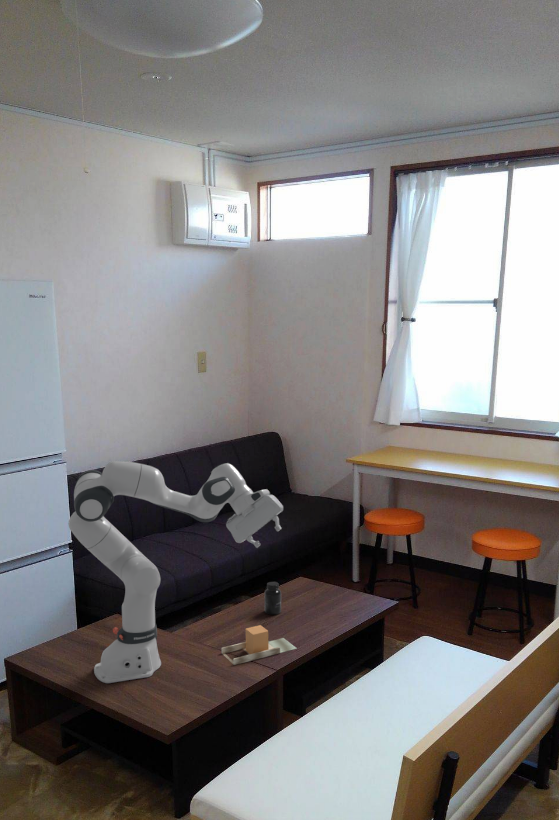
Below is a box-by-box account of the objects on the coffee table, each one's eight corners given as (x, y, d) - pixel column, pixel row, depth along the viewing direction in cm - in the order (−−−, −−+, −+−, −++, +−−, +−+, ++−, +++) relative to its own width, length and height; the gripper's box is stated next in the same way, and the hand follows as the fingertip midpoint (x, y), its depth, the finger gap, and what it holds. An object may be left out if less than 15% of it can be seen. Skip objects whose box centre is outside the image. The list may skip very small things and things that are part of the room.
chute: (234, 669, 240) (233, 659, 240) (221, 657, 249) (221, 647, 248) (297, 652, 252) (297, 643, 252) (283, 641, 261) (283, 632, 260)
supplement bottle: (281, 615, 285) (280, 586, 284) (264, 615, 285) (263, 586, 284) (281, 608, 292) (281, 580, 291) (265, 608, 292) (264, 580, 291)
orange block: (253, 656, 246) (253, 634, 245) (245, 650, 251) (245, 628, 250) (268, 652, 249) (268, 631, 248) (260, 646, 254) (260, 625, 253)
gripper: (219, 523, 239) (242, 557, 236) (264, 487, 234) (288, 521, 231) (227, 521, 245) (249, 554, 242) (271, 486, 240) (294, 519, 237)
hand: (269, 538), depth 236 cm, fingers open, 8 cm apart
